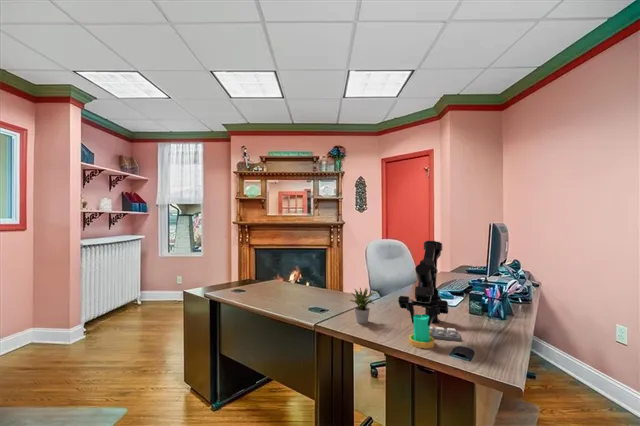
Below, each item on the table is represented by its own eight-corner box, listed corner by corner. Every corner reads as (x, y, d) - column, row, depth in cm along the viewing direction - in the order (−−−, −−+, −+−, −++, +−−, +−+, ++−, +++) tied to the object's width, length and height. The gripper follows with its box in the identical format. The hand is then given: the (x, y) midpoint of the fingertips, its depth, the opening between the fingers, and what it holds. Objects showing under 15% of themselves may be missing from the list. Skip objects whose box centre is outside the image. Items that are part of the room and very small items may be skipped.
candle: (432, 342, 120) (431, 311, 120) (427, 347, 115) (426, 315, 115) (417, 338, 123) (416, 309, 124) (411, 344, 119) (410, 313, 119)
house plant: (378, 329, 135) (377, 291, 135) (346, 326, 137) (346, 290, 138) (378, 318, 149) (378, 285, 149) (349, 317, 151) (349, 283, 152)
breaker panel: (422, 329, 134) (422, 324, 134) (456, 333, 130) (456, 327, 130) (423, 337, 125) (423, 331, 125) (460, 341, 121) (460, 335, 121)
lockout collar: (408, 337, 125) (408, 332, 125) (432, 340, 122) (432, 335, 122) (409, 346, 116) (409, 341, 116) (435, 349, 113) (435, 344, 113)
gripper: (399, 276, 127) (392, 309, 117) (447, 280, 119) (445, 316, 109) (403, 291, 134) (397, 324, 124) (449, 295, 126) (447, 331, 116)
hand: (420, 323), depth 118 cm, fingers open, 6 cm apart
